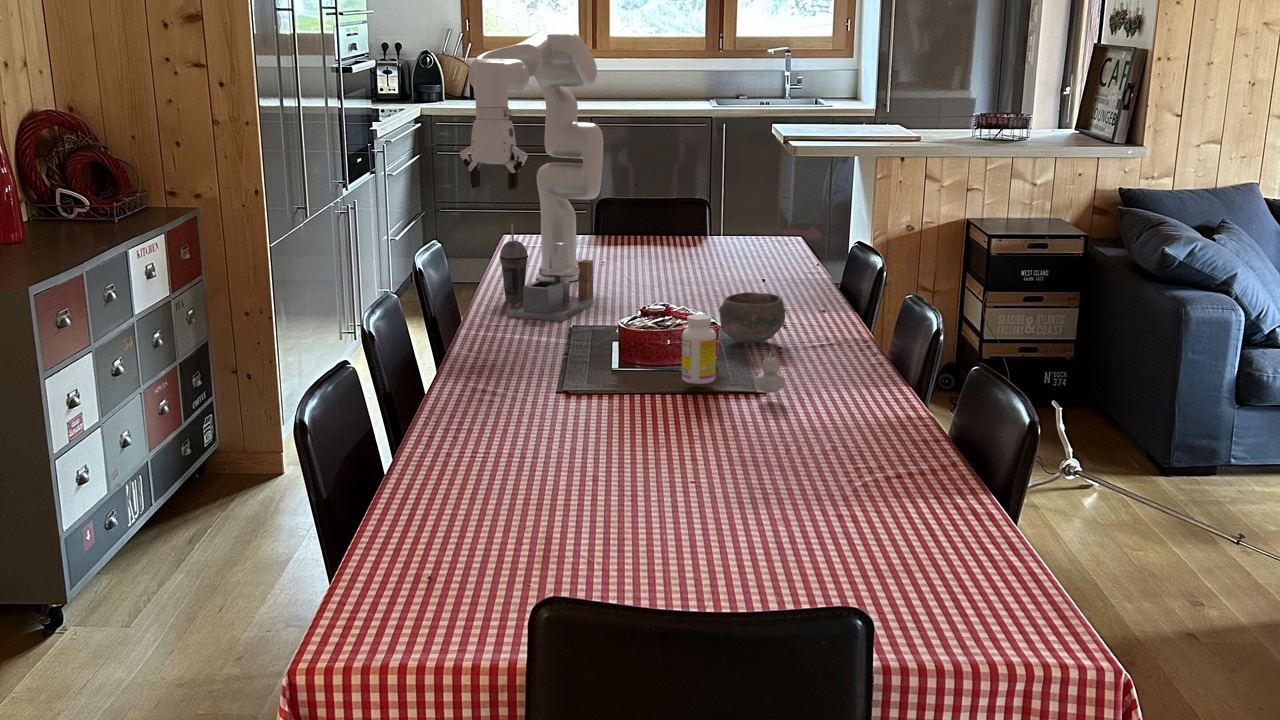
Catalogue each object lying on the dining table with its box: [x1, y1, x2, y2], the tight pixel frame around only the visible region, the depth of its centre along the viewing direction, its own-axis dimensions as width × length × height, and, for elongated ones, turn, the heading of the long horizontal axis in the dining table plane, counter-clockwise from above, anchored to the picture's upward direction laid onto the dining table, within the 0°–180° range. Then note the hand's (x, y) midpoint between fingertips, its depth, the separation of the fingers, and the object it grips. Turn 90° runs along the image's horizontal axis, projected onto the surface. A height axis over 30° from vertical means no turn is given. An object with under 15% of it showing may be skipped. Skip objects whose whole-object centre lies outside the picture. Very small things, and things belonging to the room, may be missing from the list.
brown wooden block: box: [577, 259, 594, 299], centre depth 311 cm, size 4×2×10 cm, turn 161°
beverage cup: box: [499, 223, 529, 304], centre depth 307 cm, size 7×7×20 cm
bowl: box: [718, 291, 786, 344], centre depth 269 cm, size 14×15×10 cm
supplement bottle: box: [681, 313, 717, 385], centre depth 238 cm, size 7×7×13 cm
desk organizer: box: [507, 242, 594, 323], centre depth 297 cm, size 20×14×16 cm
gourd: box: [755, 350, 786, 394], centre depth 231 cm, size 5×7×8 cm
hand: (494, 188), depth 288 cm, fingers open, 9 cm apart
